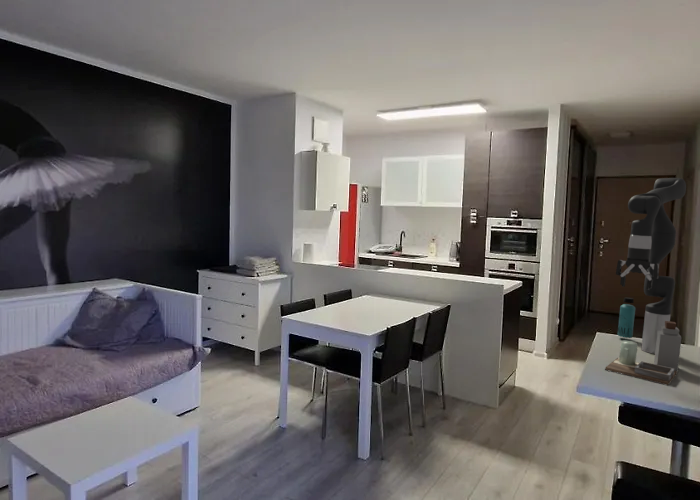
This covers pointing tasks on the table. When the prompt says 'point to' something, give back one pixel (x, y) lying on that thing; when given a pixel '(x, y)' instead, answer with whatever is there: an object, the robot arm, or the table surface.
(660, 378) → the wooden panel with label
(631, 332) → the beverage bottle
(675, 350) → the perfume bottle
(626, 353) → the pale green rounded piece
